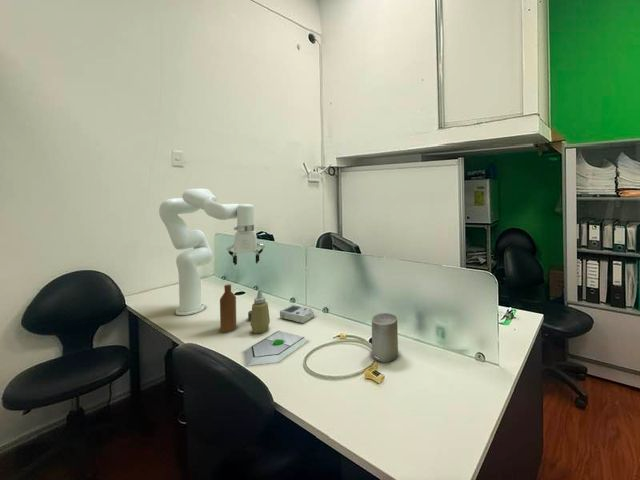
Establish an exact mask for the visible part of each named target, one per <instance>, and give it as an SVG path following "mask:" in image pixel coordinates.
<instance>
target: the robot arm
mask: <svg viewBox="0 0 640 480" xmlns="http://www.w3.org/2000/svg"><path fill="white" fill-rule="evenodd" d="M181 195H182V196H181V197H175V198H167V199H165V200H163V201H162V202H161V203H160V205H159V207H158V214H159V217H160V219H161V221H162V223H163V224H164V227H165V228H166V230H167V234H168V235H169V238H170V240H171V244H172V245H173V247H174V248H175V249H176V250H184V251H182V252H179V254H178V255H177V256H176V258H175V262H176V268H177V273H178V299H179V301H178V305H179V308H177V309H176V310H175V315H178V316H188V315H193V314H197V313H199V312H202V311H203V310H205V304H204V303H202V281H201V280H202V277H201V272H200V271H199V269H198V267H201V266H204V265H208V264H209V263H211V262H212V260H213V251H212V248H211V246H210V244H209V241H208V238H207V236H206V233H204V232H203V231H202V230H200V229H189V228H188V225H187V223H186V222H185V220H184V219H183V218H182V217H181V216H179V215H183V214H193V213H195V212H196V213H197V211H200V209H201V210H203V211H204V213H205V214H206V215H207V216H209V217H211V218H214V219H217V220H221V221H225V220H226V221H227V220H235V219H236V226H235V227H233V230H234V231H236V232H235V233H234V240H233V241H234V243H233V244H231V245H230V246H228V247H226V251H227V252H228V254H229V255H230V256H231V257H232V264H233V266H237V265H238V256H237V254H247V253H254V254H255V264H258V263H259V262H260V255H261V254H262V252H263V251H264V249H265V248H266V245H265V244H262V243H260V242H258V237H257V231H256V230H255V206H254V205H253V204H251V203H220V202H218V198H217V196H216V195H214V194H213V193H212V191H211V190H210V189H208V188H188V189H186V190H185V191H184V192H183V193H182V194H181ZM258 247H260V249H258ZM192 248H193V249H192ZM187 249H188V250H187ZM232 249H233V250H232Z"/></svg>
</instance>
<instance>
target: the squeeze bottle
mask: <svg viewBox="0 0 640 480" xmlns="http://www.w3.org/2000/svg"><path fill="white" fill-rule="evenodd" d="M251 311H252V313H251V321H250V324H249V325H250V328H251V330H252V332H253V333H254V334H261V333H266V331H268V329H269V326H270V323H271V319H270V310H269V302H268V301H267V300H266V297H265V296H264V295H263V291H262V289H258V290H257V295H256V297H255V298H254V299H253V304H252V305H251Z"/></svg>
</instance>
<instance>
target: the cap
mask: <svg viewBox="0 0 640 480" xmlns="http://www.w3.org/2000/svg"><path fill="white" fill-rule="evenodd" d="M251 313H252V310H249V311H248V312H247V320H248V321H249V322H251Z"/></svg>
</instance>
